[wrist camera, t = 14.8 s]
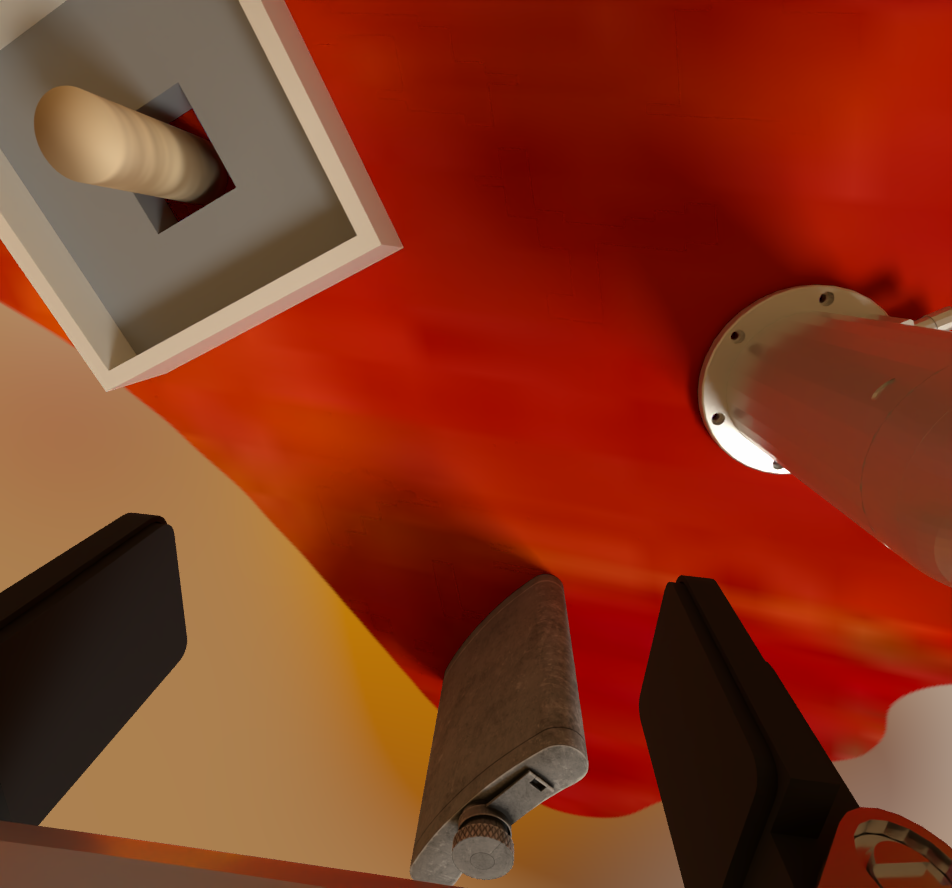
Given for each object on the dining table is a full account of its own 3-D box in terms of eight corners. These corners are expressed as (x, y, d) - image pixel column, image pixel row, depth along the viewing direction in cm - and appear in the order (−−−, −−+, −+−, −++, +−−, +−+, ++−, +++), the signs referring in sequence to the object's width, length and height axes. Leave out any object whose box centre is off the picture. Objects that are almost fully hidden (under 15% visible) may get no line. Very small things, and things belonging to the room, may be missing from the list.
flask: (430, 672, 46) (379, 912, 29) (535, 561, 41) (547, 768, 25) (464, 694, 46) (433, 943, 29) (570, 587, 42) (607, 807, 25)
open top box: (236, -98, 29) (169, -184, 24) (403, 247, 35) (381, 244, 29) (-18, 89, 33) (-127, 54, 28) (166, 373, 39) (106, 392, 33)
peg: (204, 123, 33) (81, 68, 24) (239, 186, 34) (134, 157, 25) (155, 155, 34) (16, 113, 24) (190, 215, 35) (70, 198, 25)
